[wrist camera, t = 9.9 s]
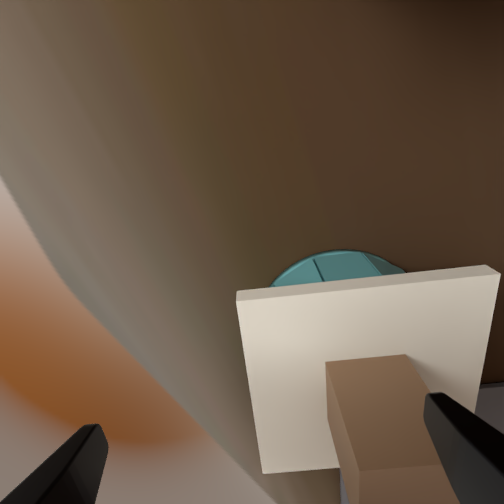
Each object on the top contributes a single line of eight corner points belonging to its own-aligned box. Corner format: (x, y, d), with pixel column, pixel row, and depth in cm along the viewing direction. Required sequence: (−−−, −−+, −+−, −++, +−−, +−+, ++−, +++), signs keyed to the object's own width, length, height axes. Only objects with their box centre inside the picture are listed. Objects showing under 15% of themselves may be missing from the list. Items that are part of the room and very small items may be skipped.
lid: (485, 264, 15) (637, 356, 9) (455, 441, 20) (545, 580, 14) (236, 291, 16) (228, 394, 10) (262, 457, 20) (267, 599, 14)
